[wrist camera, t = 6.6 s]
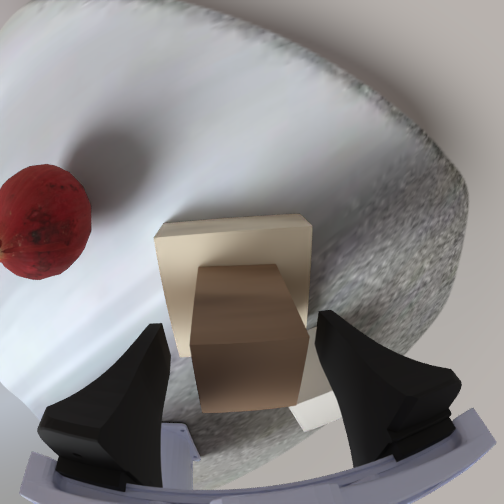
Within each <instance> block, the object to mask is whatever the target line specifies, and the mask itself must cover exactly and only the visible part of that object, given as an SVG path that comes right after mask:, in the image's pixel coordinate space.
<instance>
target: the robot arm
mask: <svg viewBox="0 0 504 504" xmlns="http://www.w3.org/2000/svg"><path fill="white" fill-rule="evenodd" d="M314 344H315V348H316V351H317V355H318V358H319V361H320V364H321V366H322V368H323V371H324V373H325V375H326V377H327V379H328V382H329V384H330V386H331V388H332V390H333V393H334V395H335V397H336V400H337V402H338V405H339V408H340V411H341V415H342V418H343V422H344V425H345V429H346V433H347V437H348V441H349V446H350V450H351V455H352V461H353V467H354V468H352V469H349V470H346V471H342V472H339V473H335V474H331V475H327V476H323V477H319V478H314V479H310V480H304V481H299V482H294V483H288V484H281V485H274V486H266V487H257V488H247V489H231V490H193V461H200V460H201V457H200V455H199V453H198V451H197V449H196V446H195V444H194V442H193V440H192V437H191V435H190V433H189V430H188V428H187V426H186V425H185V424H183V423H161V421H162V413H163V407H164V401H165V396H166V391H167V386H168V380H169V375H170V362H171V354H170V351H169V347H168V344H167V340H166V336H165V333H164V329H163V325H162V323H155V324H149V325H148V326H147V327H146V328H145V330H144V331H143V332H142V333H141V334H140V336H139V337H138V338H137V339H136V340H135V342H134V343H133V344H132V345H131V346H130V347H129V349H128V350H127V351H126V352H125V353H124V354H123V355H122V356H121V357H120V358H119V359H118V360H117V361H116V363H115V364H113V365H112V366H111V367H110V368H109V369H108V370H107V371H106V372H105V373H103V374H102V375H101V376H100V377H99V378H97V379H96V380H95V381H93V382H92V383H90V384H89V385H88V386H86V387H85V388H83V389H82V390H80V391H78V392H77V393H75V394H73V395H71V396H70V397H68V398H66V399H64V400H62V401H59V402H57V403H55V404H53V405H50V406H48V407H47V408H46V410H45V412H44V414H43V417H42V419H41V421H40V424H39V426H38V430H37V432H38V434H39V436H40V438H41V439H42V440H43V441H44V442H45V443H46V444H47V445H48V446H49V447H50V448H51V449H52V450H53V451H54V452H55V453H56V454H57V455H58V456H59V458H58V461H56V460H54V459H52V458H50V457H47V456H44V455H42V454H39V453H36V452H34V451H32V452H31V455H30V458H29V461H28V464H27V467H26V470H25V474H24V477H23V481H22V484H21V488H20V492H19V494H20V495H21V496H23V497H24V498H26V499H27V500H29V501H31V502H32V503H34V504H411V503H413V502H415V501H417V500H419V499H421V498H423V497H424V496H426V495H428V494H430V493H431V492H433V491H435V490H436V489H438V488H440V487H441V486H443V485H445V484H446V483H448V482H449V481H451V480H452V479H454V478H455V477H457V476H458V475H460V474H461V473H463V472H464V471H466V470H467V469H469V468H470V467H471V466H472V465H473V464H475V463H476V462H477V461H478V460H479V459H480V458H481V457H482V456H484V455H485V454H486V453H487V452H488V451H489V450H490V449H491V448H492V447H493V446H494V445H495V444H496V441H495V439H494V437H493V436H492V435H491V433H490V431H489V430H488V429H487V427H486V426H485V424H484V422H483V421H482V420H481V418H480V417H479V415H478V414H477V412H476V411H475V410H474V408H471V409H470V410H468V411H466V412H465V413H463V414H461V415H460V416H458V417H456V418H455V419H454V420H453V421H451V419H450V418H449V417H450V416H451V411H450V410H449V407H450V405H451V404H452V402H453V401H454V399H455V398H456V397H457V395H458V393H459V391H460V389H461V386H462V384H461V381H460V380H459V378H458V377H457V376H456V374H455V373H454V372H453V371H452V370H451V369H448V368H442V367H437V366H432V365H429V364H425V363H421V362H418V361H415V360H413V359H410V358H407V357H405V356H402V355H400V354H398V353H396V352H394V351H392V350H390V349H388V348H386V347H384V346H382V345H380V344H379V343H377V342H375V341H374V340H372V339H371V338H369V337H367V336H366V335H364V334H363V333H362V332H360V331H359V330H357V329H356V328H355V327H353V326H352V325H351V324H349V323H348V322H347V321H345V320H344V319H343V318H341V317H340V316H339V315H337V314H336V313H335V312H333V311H332V310H325V311H319V313H318V321H317V329H316V336H315V343H314Z"/></svg>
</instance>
